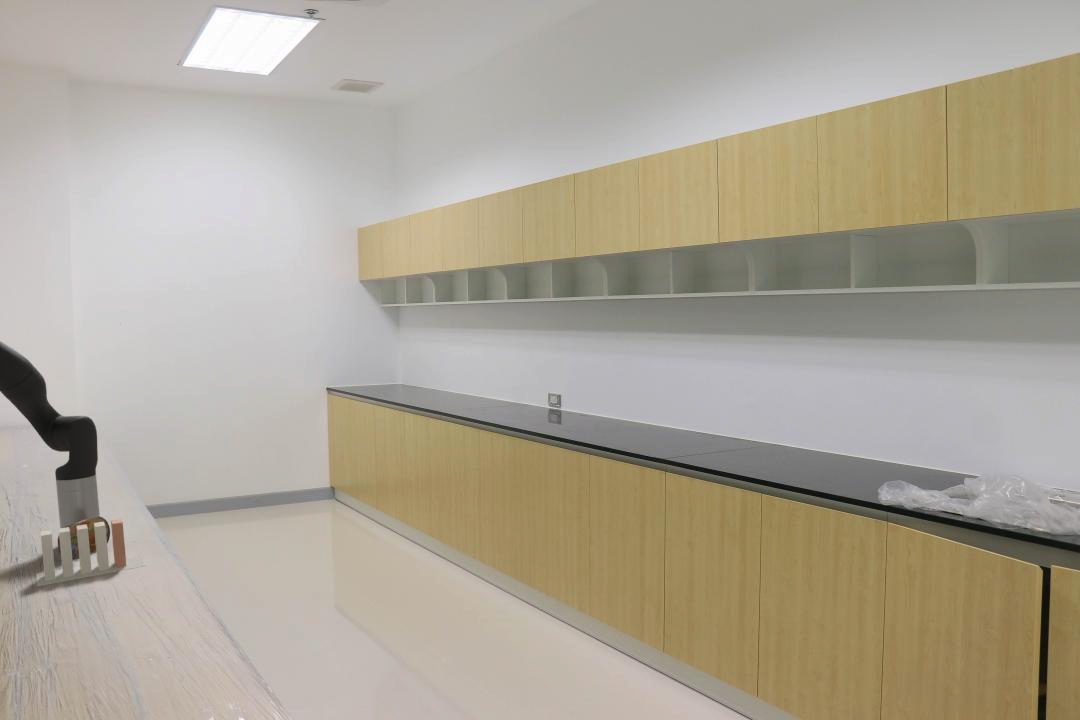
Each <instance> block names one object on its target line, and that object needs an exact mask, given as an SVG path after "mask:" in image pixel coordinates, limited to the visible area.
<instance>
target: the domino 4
mask: <svg viewBox="0 0 1080 720" xmlns="http://www.w3.org/2000/svg"><path fill="white" fill-rule="evenodd" d="M94 531H95V542H96V550H95V551H96V552H95V553H96V563H97V565H98V569H99V571H101V570H106V569H109V552H108V543H107V538H106V526H105V523H104V522H98V523H94Z"/></svg>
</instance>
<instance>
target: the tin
mask: <svg viewBox="0 0 1080 720" xmlns="http://www.w3.org/2000/svg"><path fill="white" fill-rule="evenodd" d="M98 522H104V523H105V526H106V538H107V544H108V543H109V540H110V536H111V526H110V525H109V522H108V521H107V520H106V518H104V517H102V516H100V517H93V518H88V519H85V520H82V521H80V522H77V523H74V524H71V525H68V526H66V527H64V528H67V527H69V530H70V538H71V549H72V559H77V558H79V549H78V538H77V527H76V526H79V525H85V524H86V525H87V527H88V536H89V547H90V553H92V552H95V551H96V542H95V531H94V523H98ZM57 548H58V551H59V553H60V555H61V549H60V538H59V535H58V537H57Z"/></svg>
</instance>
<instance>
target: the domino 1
mask: <svg viewBox="0 0 1080 720" xmlns="http://www.w3.org/2000/svg"><path fill="white" fill-rule="evenodd" d="M40 540H41V549H42V550H41V552H42V553H41V554H42V560H43V563H42V564H43V573H44V575H45V581H48V580H53V579H56V577H55V570H56V569H55V568H56V567H55V566H56V565H55V558H54V546H53V535H52V530H51V529H50V530H42V531H40Z"/></svg>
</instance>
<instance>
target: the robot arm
mask: <svg viewBox="0 0 1080 720" xmlns="http://www.w3.org/2000/svg"><path fill="white" fill-rule="evenodd" d="M47 390H48V389H47V383H46V380H45V378H44V376H43V375H42V374H41V372H40V371H39V370H38V369H37V367H36V366H34V364H32V362H31V361H30V360H29V359H28V358H26V357H25V356H24V355H23V354H22V353H20V352H19V351H17V350H16V349H14V348H12V347H11V346H9V345H8V344H6V343H4V342H2V341H1V340H0V393H1V394H2V395H3V396H4V397H5V398H6V399H7V400H8V401H9V402H10V403H11V404H13V406H14V407H15V408H16V409H17V410H18V411H19V412H20V414H22V416H24V418H25V419H26V420H27V421H28V422H29V424H31V426H32V428H33V429H34V430H35V431H36V433H37V435H39V437H40V438H41V439H42V441H43V442H44V443H45V444H46V445H47V447H49V448H50V450H53V451H55V452H60V453H63V452H64V453H66V452H68V460H67V461H66V462H65V464H63V465H61V466H58V467H57V468H56V469H55V473H54V474H55V483H56V485H55V487H56V493H57V495H56V496H57V507H58V508H57V509H58V518H59V527H60V528H64V527H66V526H68V525H71V524H74V523H77V522H80V521H82V520H85V519H88V518H93V517H101V516H100V514H101V513H100V504H99V494H98V492H99V491H98V480H97V465H98V461H99V459H98V458H99V454H98V453H99V450H98V432H97V431H98V430H97V426H96V423H95V422H94V421H93V419H92V418H91V417H89V416H86V415H71V416H70V415H68V416H66V415H65V416H64V415H62V414H61V413H59V412H58V411H57V410H56V409H55V408H54V407H53V405H51V403H50V402H49V400H48V393H47ZM60 528H59V529H60Z"/></svg>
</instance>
